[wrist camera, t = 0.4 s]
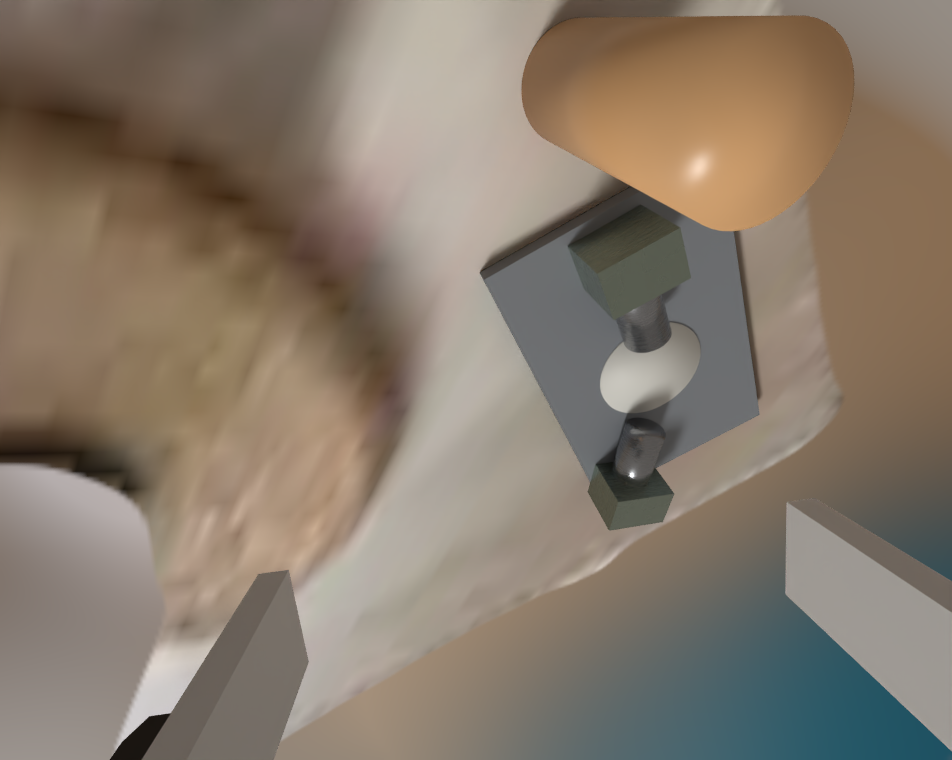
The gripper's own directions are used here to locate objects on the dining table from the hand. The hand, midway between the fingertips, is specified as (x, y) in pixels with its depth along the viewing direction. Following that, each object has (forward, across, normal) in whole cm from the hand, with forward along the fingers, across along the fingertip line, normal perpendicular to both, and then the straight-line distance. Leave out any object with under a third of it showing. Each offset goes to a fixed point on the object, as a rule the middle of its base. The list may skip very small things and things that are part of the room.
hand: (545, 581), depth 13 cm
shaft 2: (+24, +10, -7) cm, 27 cm away
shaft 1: (+18, +8, +7) cm, 21 cm away
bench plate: (+21, +11, +2) cm, 24 cm away
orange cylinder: (+14, +6, +16) cm, 22 cm away
